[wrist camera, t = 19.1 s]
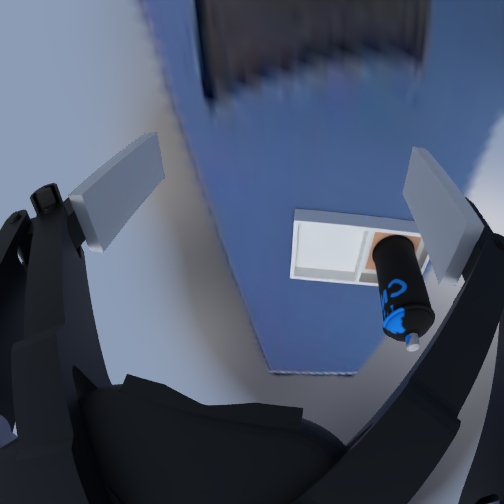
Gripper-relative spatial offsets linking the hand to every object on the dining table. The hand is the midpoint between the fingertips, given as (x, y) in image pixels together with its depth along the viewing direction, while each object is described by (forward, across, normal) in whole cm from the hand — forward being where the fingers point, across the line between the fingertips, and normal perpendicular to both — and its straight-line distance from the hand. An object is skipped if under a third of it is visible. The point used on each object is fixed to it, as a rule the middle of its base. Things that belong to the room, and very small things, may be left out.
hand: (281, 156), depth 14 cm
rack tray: (+29, +12, -28) cm, 42 cm away
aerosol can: (+28, +18, -28) cm, 43 cm away
